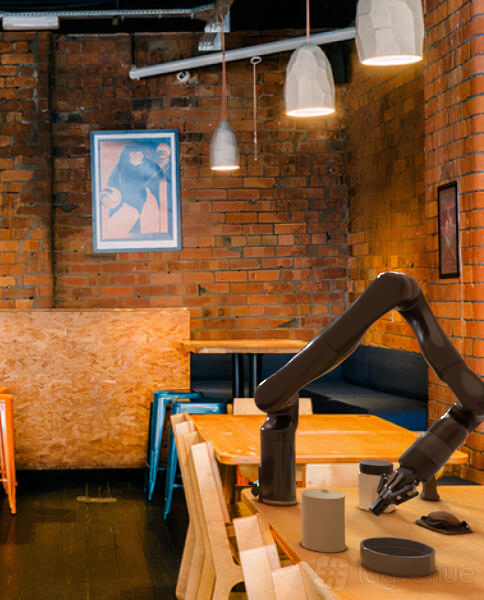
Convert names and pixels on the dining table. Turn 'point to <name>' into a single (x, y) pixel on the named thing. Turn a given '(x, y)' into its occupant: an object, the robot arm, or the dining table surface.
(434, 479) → the kendama
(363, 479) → the jar
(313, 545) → the can
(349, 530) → the dining table surface
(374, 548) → the pan
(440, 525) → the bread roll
